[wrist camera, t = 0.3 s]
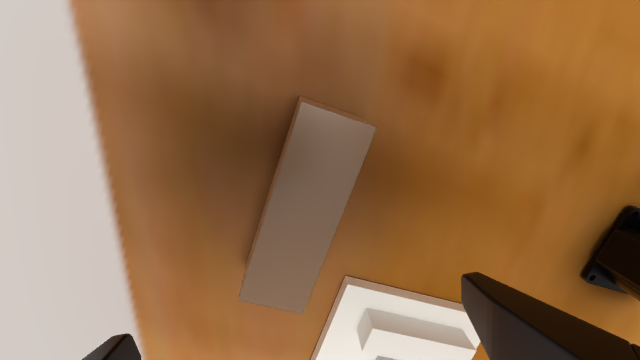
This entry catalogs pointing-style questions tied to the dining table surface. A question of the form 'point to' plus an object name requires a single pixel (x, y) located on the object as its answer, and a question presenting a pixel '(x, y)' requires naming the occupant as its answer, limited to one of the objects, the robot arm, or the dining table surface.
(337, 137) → the gray cuboid brick
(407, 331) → the display rest
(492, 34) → the dining table surface
